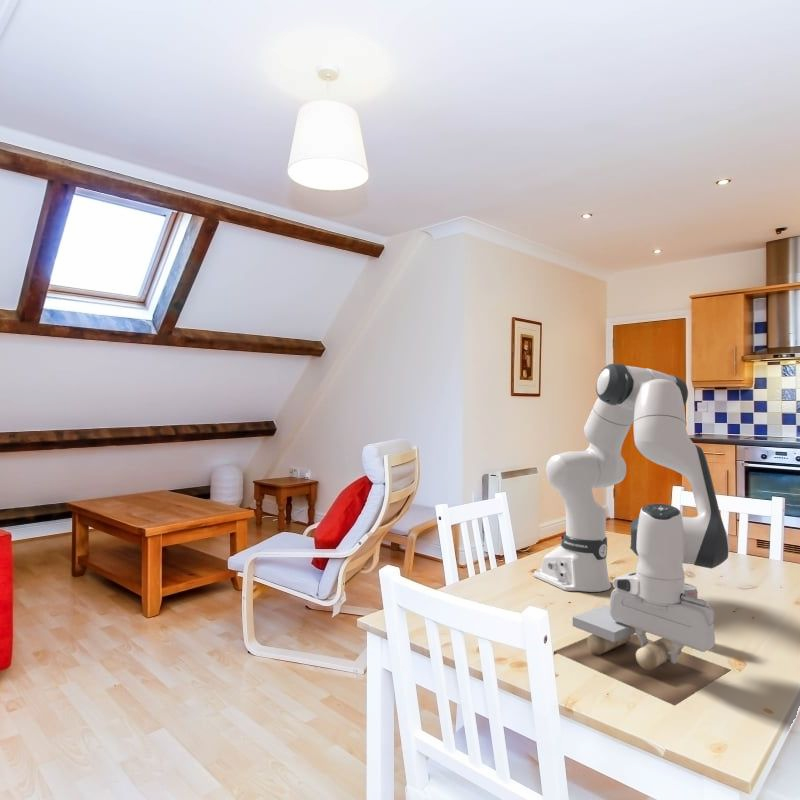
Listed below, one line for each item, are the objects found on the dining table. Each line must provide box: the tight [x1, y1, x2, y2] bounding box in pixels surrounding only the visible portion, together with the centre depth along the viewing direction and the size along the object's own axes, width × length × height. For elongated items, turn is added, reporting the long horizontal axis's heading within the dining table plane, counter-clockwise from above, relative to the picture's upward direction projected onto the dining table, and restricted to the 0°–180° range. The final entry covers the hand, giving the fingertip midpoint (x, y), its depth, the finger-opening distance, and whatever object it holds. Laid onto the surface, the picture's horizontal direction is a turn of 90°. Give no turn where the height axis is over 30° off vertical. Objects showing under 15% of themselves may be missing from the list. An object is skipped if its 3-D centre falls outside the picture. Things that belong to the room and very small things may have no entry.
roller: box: [636, 637, 682, 670], centre depth 115 cm, size 4×10×4 cm, turn 127°
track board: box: [553, 633, 732, 706], centre depth 118 cm, size 26×22×5 cm
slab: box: [572, 604, 636, 642], centre depth 123 cm, size 10×12×2 cm
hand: (658, 656), depth 115 cm, fingers closed on roller, 4 cm apart
